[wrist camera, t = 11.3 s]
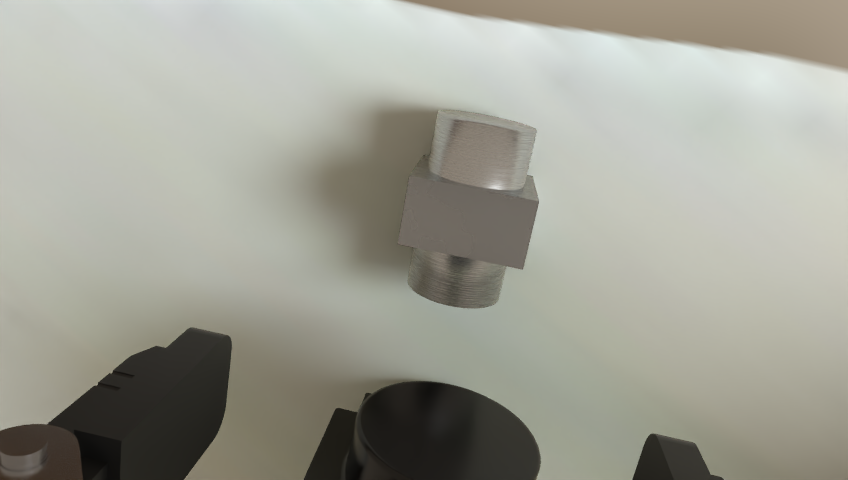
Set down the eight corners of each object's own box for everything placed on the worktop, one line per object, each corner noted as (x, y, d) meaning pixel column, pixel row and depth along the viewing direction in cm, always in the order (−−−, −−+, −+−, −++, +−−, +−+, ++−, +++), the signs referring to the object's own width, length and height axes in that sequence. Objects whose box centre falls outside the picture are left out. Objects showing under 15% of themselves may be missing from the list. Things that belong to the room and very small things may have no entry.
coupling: (544, 125, 31) (553, 141, 25) (508, 279, 33) (510, 322, 28) (432, 103, 31) (419, 115, 26) (405, 258, 33) (388, 297, 28)
